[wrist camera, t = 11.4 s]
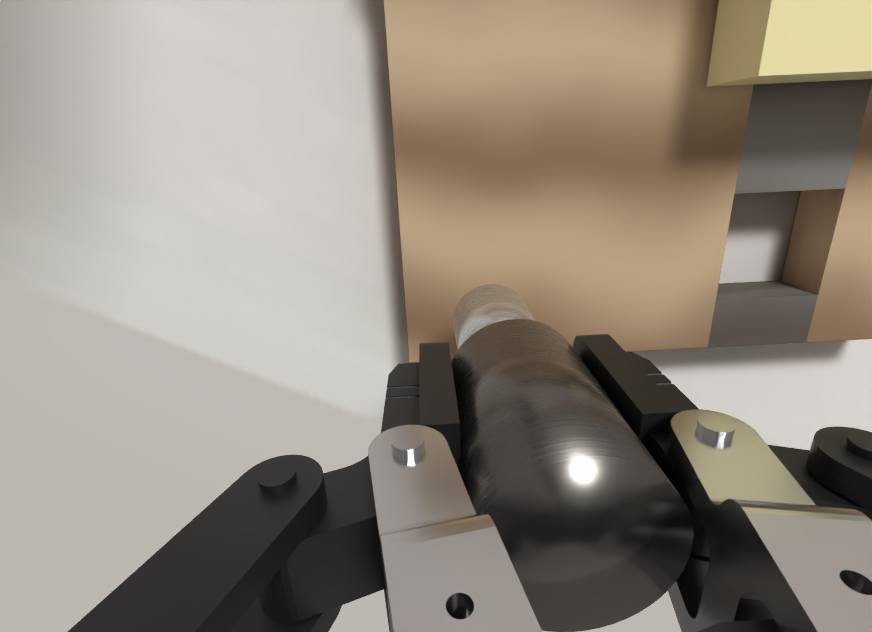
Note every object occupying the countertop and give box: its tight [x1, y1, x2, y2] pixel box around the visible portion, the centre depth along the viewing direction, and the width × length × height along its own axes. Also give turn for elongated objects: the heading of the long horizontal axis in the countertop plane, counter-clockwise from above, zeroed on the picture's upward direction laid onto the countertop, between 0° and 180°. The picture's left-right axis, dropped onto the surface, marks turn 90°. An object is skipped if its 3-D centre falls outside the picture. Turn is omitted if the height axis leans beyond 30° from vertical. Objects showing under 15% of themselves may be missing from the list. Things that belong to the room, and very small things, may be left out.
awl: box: [451, 284, 694, 632], centre depth 11 cm, size 3×3×9 cm
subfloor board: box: [384, 0, 872, 362], centre depth 16 cm, size 16×20×3 cm
